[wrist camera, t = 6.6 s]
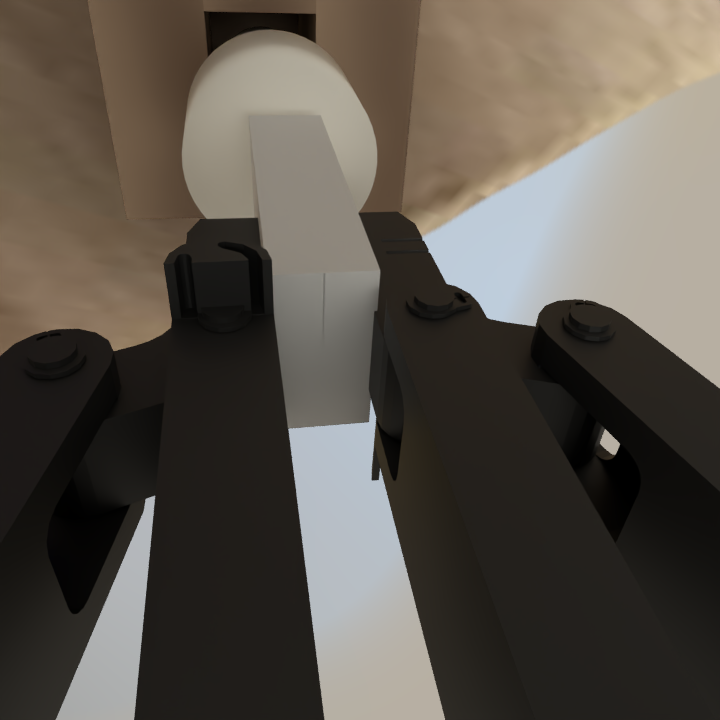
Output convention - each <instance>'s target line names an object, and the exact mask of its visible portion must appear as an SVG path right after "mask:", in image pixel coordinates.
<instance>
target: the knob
mask: <svg viewBox="0 0 720 720" xmlns="http://www.w3.org/2000/svg"><path fill="white" fill-rule="evenodd" d="M268 115H321V117H322V120H323V123H324V125H325V128H326V130H327V133H328V136H329V138H330V141H331V143H332V146H333V149H334V151H335V154H336V156H337V159H338V162H339V164H340V167H341V169H342V172H343V175H344V177H345V180H346V182H347V185H348V188H349V190H350V193H351V195H352V198H353V201H354V203H355V206H356V208H357V211H358V213H359V211H360V210H361V209H362V207H363V205H364V204H365V202H366V200H367V198H368V196H369V194H370V191H371V189H372V187H373V183H374V179H375V175H376V168H377V146H376V138H375V135H374V131H373V127H372V125H371V122H370V120H369V117H368V115H367V113H366V111H365V110H364V108H363V106H362V104H361V103H360V101H359V99H358V97H357V95H356V94H355V92H354V90H353V88H352V87H351V85H350V83H349V81H348V79H347V78H346V76H345V74H344V73H343V71H342V69H341V68H340V66H339V65H338V64H337V63H336V61H335V60H334V59H333V58H332V57H331V56H330V55H329V54H328V53H327V52H326V51H325V50H324V49H322V48H321V47H320V46H318V45H317V44H316V43H314V42H312V41H310V40H308V39H307V38H305V37H302V36H299V35H297V34H294V33H290V32H286V31H280V30H274V29H272V28H268V27H261V26H259V27H252V28H248V29H246V30H244V31H242V32H241V33H239V34H238V35H237V36H236V37H234V38H232V39H230V40H228V41H227V42H225V43H224V44H222V45H221V46H219V47H218V48H217V49H215V50H214V51H213V52H212V53H211V54H210V55H209V56H208V57H207V59H206V60H205V61H204V63H203V64H202V65H201V67H200V68H199V70H198V72H197V74H196V75H195V77H194V80H193V82H192V85H191V88H190V92H189V96H188V102H187V110H186V119H185V127H184V136H183V145H182V167H183V172H184V177H185V181H186V184H187V187H188V190H189V192H190V194H191V196H192V198H193V200H194V202H195V204H196V205H197V207H198V208H199V210H200V211H201V213H202V214H203V215H204V216H205V217H206V218H207V219H223V218H254V206H253V187H252V168H251V149H250V130H249V116H268Z"/></svg>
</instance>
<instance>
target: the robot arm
mask: <svg viewBox="0 0 720 720" xmlns="http://www.w3.org/2000/svg"><path fill="white" fill-rule="evenodd" d="M249 130H250V149H251V168H252V187H253V206H254V218H223V219H200V220H199V221H198V222H197V223H196V224H195V225H194V226H193V227H192V229H191V230H190V231H189V232H188V233H187V242H186V244H184V245H181V246H180V247H178V248H177V249H175V250H174V251H172V252H171V253H169V255H168V257H167V258H166V260H165V262H164V269H165V276H166V283H167V289H168V296H169V303H170V310H171V316H172V325H171V328H170V329H169V330H168V331H166V332H165V333H164V334H163V335H161V336H159V337H157V338H155V339H153V340H151V341H149V342H145V343H142V344H139V345H136V346H133V347H129V348H125V349H121V350H117V351H113V349H112V347H111V345H110V343H109V341H108V340H107V339H105V338H104V337H102V336H100V335H99V334H97V333H95V332H90V331H86V330H81V329H58V330H51V331H48V332H42V333H39V334H35V335H33V336H31V337H29V338H26V339H24V340H22V341H20V342H18V343H16V344H14V345H13V346H12V347H10V348H9V349H8V350H7V351H6V352H4V353H3V354H2V355H1V356H0V720H55V719H56V718H57V715H58V713H59V710H60V708H61V706H62V703H63V701H64V699H65V696H66V694H67V691H68V689H69V687H70V684H71V682H72V680H73V677H74V675H75V672H76V670H77V668H78V665H79V663H80V661H81V658H82V656H83V653H84V651H85V648H86V646H87V644H88V642H89V639H90V637H91V635H92V632H93V630H94V627H95V625H96V622H97V620H98V618H99V616H100V613H101V611H102V608H103V606H104V603H105V601H106V599H107V596H108V594H109V592H110V589H111V587H112V585H113V582H114V580H115V578H116V575H117V573H118V570H119V568H120V566H121V563H122V561H123V559H124V556H125V554H126V551H127V549H128V547H129V544H130V542H131V540H132V537H133V535H134V532H135V530H136V528H137V525H138V523H139V520H140V518H141V516H142V514H143V511H144V505H145V499H146V498H149V497H152V496H155V505H154V516H153V527H152V538H151V548H150V559H149V569H148V580H147V591H146V601H145V612H144V622H143V632H142V643H141V654H140V664H139V675H138V685H137V696H136V707H135V717H134V720H324V713H323V706H322V698H321V689H320V681H319V673H318V665H317V657H316V649H315V641H314V633H313V625H312V617H311V609H310V601H309V592H308V584H307V577H306V568H305V561H304V552H303V545H302V536H301V528H300V520H299V512H298V504H297V497H296V488H295V480H294V472H293V464H292V456H291V448H290V440H289V431H288V429H289V428H301V427H314V426H326V425H339V424H351V423H364V422H369V414H370V413H369V412H370V400H372V404H373V407H374V411H375V414H376V429H375V439H374V452H373V463H372V480H379V472H380V468H381V472H382V476H383V480H384V483H385V487H386V491H387V495H388V499H389V503H390V507H391V511H392V514H393V518H394V522H395V526H396V530H397V534H398V538H399V542H400V545H401V549H402V553H403V557H404V561H405V565H406V568H407V573H408V577H409V580H410V584H411V588H412V592H413V596H414V600H415V604H416V608H417V611H418V615H419V619H420V623H421V627H422V631H423V635H424V639H425V643H426V646H427V650H428V654H429V658H430V662H431V666H432V670H433V674H434V677H435V681H436V685H437V689H438V693H439V696H440V701H441V704H442V709H443V712H444V716H445V720H720V388H718V387H717V386H716V385H714V384H713V383H711V382H710V381H709V380H708V379H706V378H705V377H704V376H702V375H701V374H700V373H698V372H697V371H696V370H695V369H693V368H692V367H691V366H689V365H688V364H687V363H686V362H684V361H683V360H682V359H680V358H679V357H678V356H676V355H675V354H674V353H673V352H671V351H670V350H669V349H667V348H666V347H665V346H663V345H662V344H661V343H659V342H658V341H657V340H656V339H654V338H653V337H652V336H650V335H649V334H648V333H646V332H645V331H644V330H643V329H641V328H640V327H639V326H637V325H636V324H634V323H633V322H632V321H631V320H629V319H628V318H627V317H625V316H624V315H622V314H620V313H619V312H617V311H615V310H613V309H612V308H609V307H606V306H603V305H600V304H598V303H596V302H593V301H588V300H586V301H583V300H576V299H575V300H563V301H556V302H554V303H551V304H549V305H546V306H545V307H544V308H543V309H542V311H541V312H540V313H539V316H538V319H537V323H536V327H535V326H527V325H520V324H513V323H506V322H500V321H496V320H491V319H488V318H487V317H486V315H485V314H484V312H483V310H482V308H481V307H480V305H479V303H478V302H477V301H476V300H475V299H474V298H473V297H472V296H471V295H470V294H469V293H467V292H465V291H464V290H462V289H460V288H458V287H456V286H452V285H448V284H446V282H445V280H444V278H443V276H442V274H441V273H440V271H439V269H438V267H437V265H436V263H435V261H434V259H433V258H432V255H431V254H430V253H428V248H427V246H426V244H425V242H424V241H422V236H421V234H420V233H419V231H418V229H417V227H416V225H415V223H413V222H412V221H410V220H409V219H407V218H406V217H404V216H403V215H402V214H400V213H399V212H361V213H358V211H357V208H356V206H355V203H354V201H353V198H352V195H351V193H350V190H349V188H348V185H347V182H346V180H345V177H344V175H343V172H342V169H341V167H340V164H339V162H338V159H337V156H336V154H335V151H334V149H333V146H332V143H331V141H330V138H329V136H328V133H327V130H326V128H325V125H324V123H323V120H322V117H321V115H268V116H249ZM605 429H606V430H607V431H608V432H609V433H610V434H611V435H612V436H613V437H614V438H615V439H616V440H617V441H618V442H619V443H620V446H619V449H618V451H617V453H616V455H612V454H610V453H609V452H608V451H607V450H606V449H604V448H603V447H602V446H601V444H600V441H601V438H602V435H603V432H604V430H605Z"/></svg>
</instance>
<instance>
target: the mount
mask: <svg viewBox="0 0 720 720" xmlns="http://www.w3.org/2000/svg"><path fill="white" fill-rule="evenodd" d="M87 1H88V7H89V13H90V18H91V24H92V29H93V35H94V40H95V46H96V51H97V57H98V63H99V68H100V74H101V79H102V85H103V90H104V96H105V101H106V107H107V113H108V118H109V124H110V129H111V135H112V140H113V146H114V151H115V157H116V163H117V168H118V174H119V179H120V185H121V190H122V196H123V201H124V207H125V213H126V218H127V220H133V219H168V218H203V217H205V216H204V215H203V214H202V213H201V211H200V210H199V208H198V207H197V205H196V204H195V202H194V200H193V198H192V196H191V194H190V192H189V190H188V187H187V184H186V181H185V177H184V172H183V167H182V145H183V136H184V127H185V119H186V110H187V102H188V96H189V92H190V88H191V85H192V82H193V80H194V77H195V75H196V74H197V72H198V70H199V68H200V67H201V65H202V64H203V63H204V61H205V60H206V59H207V57H208V56H209V55H210V54H211V53H212V42H211V30H210V17H209V11H211V12H258V13H298V35H299V36H302V37H305V38H307V39H308V40H310V41H312V42H314V43H316V44H317V45H318V46H320V47H321V48H322V49H324V50H325V51H326V52H327V53H328V54H329V55H330V56H331V57H332V58H333V59H334V60H335V61H336V63H337V64H338V65H339V66H340V68H341V69H342V71H343V73H344V74H345V76H346V78H347V79H348V81H349V83H350V85H351V87H352V88H353V90H354V92H355V94H356V95H357V97H358V99H359V101H360V103H361V104H362V106H363V108H364V110H365V111H366V113H367V115H368V117H369V120H370V122H371V125H372V127H373V131H374V135H375V138H376V146H377V168H376V175H375V179H374V183H373V187H372V189H371V191H370V194H369V196H368V198H367V200H366V202H365V204H364V205H363V207H362V209H361V210H360V211H359V213H361V212H401V209H402V198H403V187H404V176H405V166H406V155H407V144H408V133H409V123H410V112H411V101H412V90H413V79H414V69H415V58H416V47H417V36H418V26H419V15H420V4H421V0H87Z"/></svg>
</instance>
